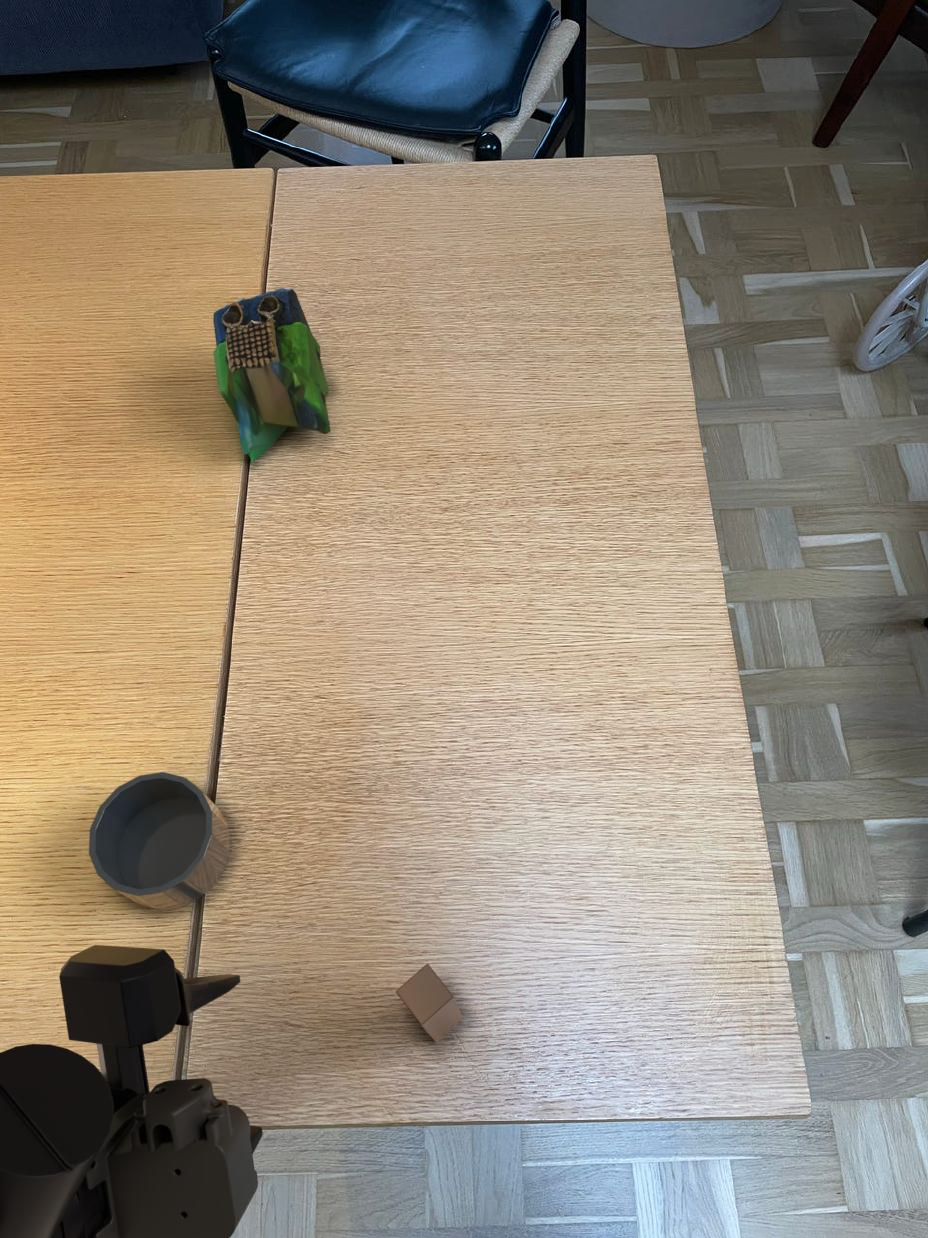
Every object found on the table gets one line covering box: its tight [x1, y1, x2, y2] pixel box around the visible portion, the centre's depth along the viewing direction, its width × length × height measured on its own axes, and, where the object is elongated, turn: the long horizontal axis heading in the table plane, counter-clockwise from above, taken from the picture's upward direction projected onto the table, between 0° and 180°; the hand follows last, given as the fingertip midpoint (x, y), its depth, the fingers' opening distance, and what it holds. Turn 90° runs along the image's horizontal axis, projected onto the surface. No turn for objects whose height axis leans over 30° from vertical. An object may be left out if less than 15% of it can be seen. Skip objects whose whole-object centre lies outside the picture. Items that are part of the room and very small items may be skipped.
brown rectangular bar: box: [395, 963, 464, 1043], centre depth 67 cm, size 3×3×14 cm
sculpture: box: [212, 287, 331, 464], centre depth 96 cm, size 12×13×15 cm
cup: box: [88, 771, 231, 910], centre depth 77 cm, size 9×9×6 cm
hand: (245, 1053), depth 58 cm, fingers open, 9 cm apart
